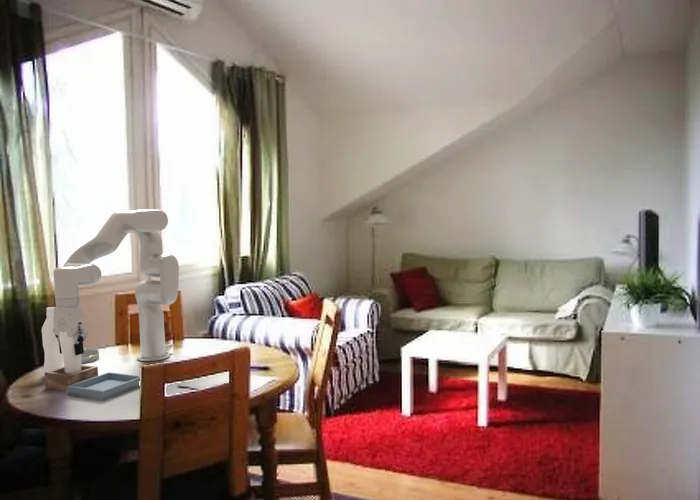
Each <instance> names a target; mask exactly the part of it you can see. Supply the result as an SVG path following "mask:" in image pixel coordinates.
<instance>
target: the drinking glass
mask: <svg viewBox="0 0 700 500" xmlns="http://www.w3.org/2000/svg"><path fill="white" fill-rule="evenodd" d="M77 334H79V332H78V333H77ZM77 338H79V336H77ZM74 344H76V343H75V340H74V336H73V337H69V336H67V332H61V331H60V345H61V351H62V357H63V362H64V370H65V373H67V374H73V373H76V372H80V371H81V365H82V363H81V354H80V355H75V348H74Z"/></svg>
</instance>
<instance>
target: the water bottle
mask: <svg viewBox="0 0 700 500" xmlns="http://www.w3.org/2000/svg"><path fill="white" fill-rule="evenodd" d="M55 307H56V306H50V307H49V306H48V307H46V314H45V315H46V318H45V321H44V323H43V325H42V326H41V336H42V337H41V339H42V347H43V352H44V363H43V370H44V373H45V372H48V371H51V370H55V369H58V368H61V367H64V362H63V357H62V354H60V350H59V342H58V341H57V338H56V336H55V334H54V333H53V331H52V330H53V329H54V309H55Z"/></svg>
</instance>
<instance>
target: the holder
mask: <svg viewBox="0 0 700 500" xmlns="http://www.w3.org/2000/svg"><path fill="white" fill-rule="evenodd" d="M98 368H99V367H98V366H93V365H86V364H85V365H84V364H81V371H80V372H76V373H73V374H67V373H65V370H64V367H61V368H58V369H55V370H51V371H48V372H45V371H44V382H45V383H44V385H45V386H44V387H45V389H48V390H54V391H62V392H67V386H69V385H72V384H75V383H78V382H81V381H84V380H87V379H90V378H93V377H96V376H99V369H98Z"/></svg>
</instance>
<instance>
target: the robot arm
mask: <svg viewBox="0 0 700 500" xmlns="http://www.w3.org/2000/svg"><path fill="white" fill-rule="evenodd" d="M168 222H169V217H168V215H167V213H166V212H165V211H163V210H161V209H135V210H131V209H129V210H118V211H115V212H113V213H112V214H111V215H110V216H109V217H108V219H107V221H106V222H105V223H104V225H103V226H102V227H101V229H100V230H99V232H97V234H96V235H95V237H93V238H92V239H91V240H89V241H88V242H86V243H85V244H84V245H81V246H80V247H79V248H77V249H76V250H75V251H74V252H73V253H72V254H71V255H70V256H69V257H68V259H67V260H66V261H65V263H64V265H63V266H59V267H56V268H54V270H53V284H54V285H53V287H54V298H55V300H54V301H55V306H54V307H55V309H54V329H53V330H52V331H53V333H54V334H55V336H56V338H57V341H58V342H59V350H60V354H62V351H61V345H60V331H61V332H67V336H69V337H73V336H74V340H75V343H76V344H74V348H75V355H80V354H83V353H84V350H83V349H84V342H85V341H86V338H87V337H88V335H89V331H88V330H87V329H86V328H85V321H84V316H83V315H84V314H83V310H82V306H81V303H80V299H81V298H80V288H79V287H80V286H91V285H95V284H97V283H98V282H99V281H100V280H101V277H102V270H101V268H100V267H99V266H97V265H96V264H92V262H94V261H96V260H98V259H100V258H103V257H106V256H108V255H111V254H113V253H114V252H116V250H117V249H118V248H119V247H120V245H121V243H122V242H123V240H124V239H125V237H126V236H127V235H129V234H132V233H133V234H134V233H135V235H137V237H138V240H139V247H140V252H139V253H140V254H139V270H140V273H141V274H142V275H143V276H144V277H151V278H160V279H159V280H157V279H156V280H155V279H152V280H151V279H149V280H146V279H145V280H142V281H140V282H139V283H138V284H137V285H136V287H135V290H134V295H135V300H136V304H137V308H138V309H137V310H138V323H139V341H140V343H139V344H140V345H139V346H140V354H138V355H137V356H136V360H138V361H141V362H157V361H161V360H165V359H167V358H169V357H170V352H168V350H170V349H172V348H173V347H174V345H173V344H172V343H168V344H166V337H165V335H166V334H165V316H164V315H165V313H164V311H163V308H162V306H166V305H167V306H168V305H172V304H174V303H175V302H176V301H177V299H178V295H179V284H180V283H179V280H180V279H179V278H180V277H179V276H180V265H179V262H178V259H177V258H176V256H175V255H173V254H171V253H163V239H162V236H161V234H160V232H162V231H163V230H166V228H167V226H168ZM161 305H162V306H161ZM78 332H79V334H77V333H78ZM77 336H79V338H77Z"/></svg>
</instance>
